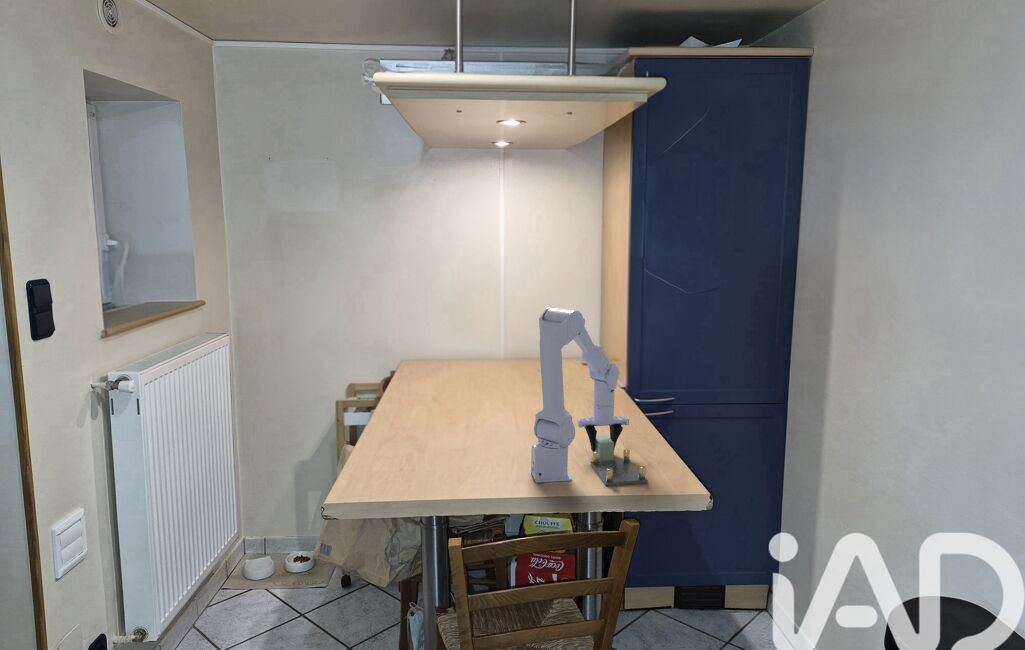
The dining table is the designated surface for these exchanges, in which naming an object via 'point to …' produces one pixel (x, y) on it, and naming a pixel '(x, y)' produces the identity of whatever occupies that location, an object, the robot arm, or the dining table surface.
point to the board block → (604, 447)
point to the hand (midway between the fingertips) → (602, 450)
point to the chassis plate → (618, 471)
